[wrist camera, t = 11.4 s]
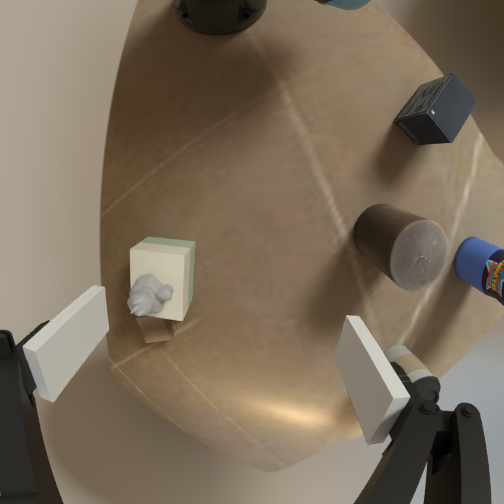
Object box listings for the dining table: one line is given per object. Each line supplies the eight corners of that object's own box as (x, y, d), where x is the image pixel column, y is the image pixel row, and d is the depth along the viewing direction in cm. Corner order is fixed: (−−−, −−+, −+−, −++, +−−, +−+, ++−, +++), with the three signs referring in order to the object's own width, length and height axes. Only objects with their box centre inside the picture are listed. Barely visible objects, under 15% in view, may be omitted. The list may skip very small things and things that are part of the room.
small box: (417, 148, 42) (453, 146, 32) (392, 120, 41) (424, 111, 30) (443, 110, 39) (479, 102, 29) (420, 83, 38) (453, 70, 28)
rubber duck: (130, 272, 39) (106, 295, 32) (172, 266, 39) (155, 288, 31) (141, 307, 41) (121, 334, 33) (182, 302, 40) (168, 330, 33)
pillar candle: (343, 223, 45) (381, 248, 31) (390, 193, 44) (442, 206, 29) (368, 270, 48) (407, 310, 33) (411, 241, 46) (461, 269, 32)
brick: (143, 308, 50) (135, 318, 46) (167, 304, 49) (161, 314, 46) (152, 331, 51) (146, 343, 47) (176, 328, 51) (171, 339, 47)
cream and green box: (148, 236, 46) (129, 249, 38) (195, 241, 46) (184, 255, 38) (148, 292, 49) (132, 312, 41) (192, 298, 49) (182, 321, 41)
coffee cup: (369, 375, 54) (393, 424, 39) (382, 339, 51) (414, 387, 37) (403, 373, 54) (431, 418, 40) (418, 339, 52) (453, 381, 37)
